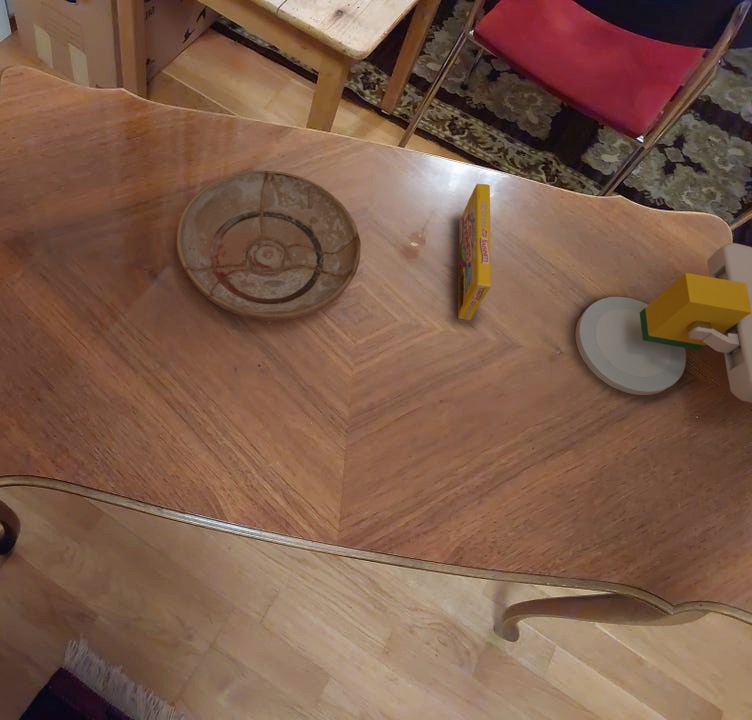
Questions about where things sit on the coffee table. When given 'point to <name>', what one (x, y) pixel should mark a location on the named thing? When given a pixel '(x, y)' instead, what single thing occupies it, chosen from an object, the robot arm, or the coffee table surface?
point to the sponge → (694, 309)
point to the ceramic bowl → (268, 245)
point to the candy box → (474, 252)
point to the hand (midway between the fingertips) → (687, 309)
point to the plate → (626, 348)
